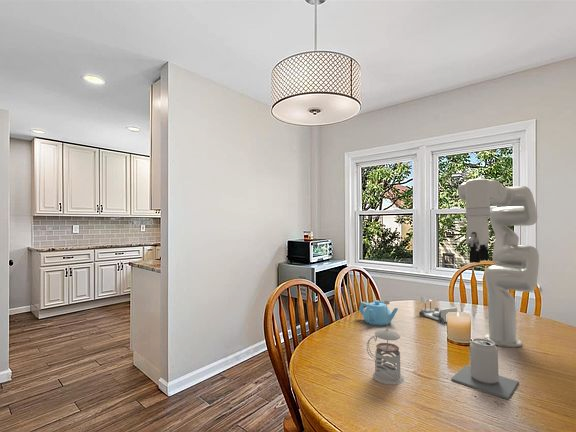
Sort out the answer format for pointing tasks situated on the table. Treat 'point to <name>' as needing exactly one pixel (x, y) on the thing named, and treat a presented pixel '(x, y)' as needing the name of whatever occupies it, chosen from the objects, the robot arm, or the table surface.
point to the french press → (387, 357)
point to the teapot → (377, 313)
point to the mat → (498, 389)
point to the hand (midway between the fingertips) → (479, 260)
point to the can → (484, 361)
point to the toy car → (435, 311)
